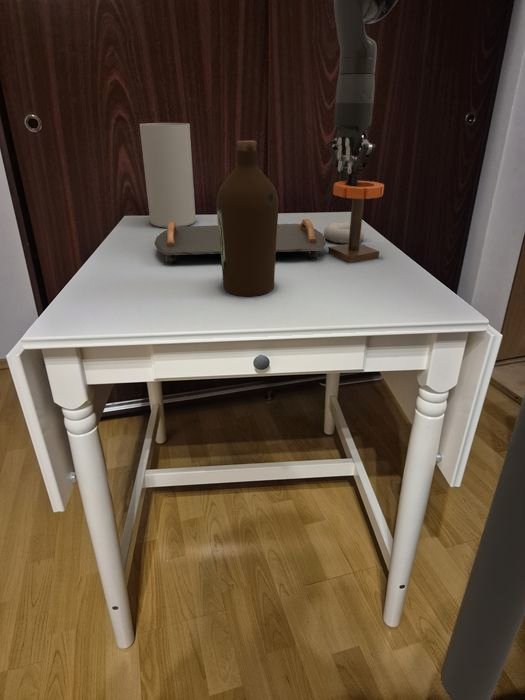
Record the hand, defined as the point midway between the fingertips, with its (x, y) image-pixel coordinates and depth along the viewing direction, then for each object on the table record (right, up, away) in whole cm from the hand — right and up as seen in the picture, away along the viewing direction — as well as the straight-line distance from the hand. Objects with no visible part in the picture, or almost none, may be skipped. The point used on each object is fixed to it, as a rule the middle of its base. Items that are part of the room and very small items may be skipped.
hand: (347, 190), depth 104 cm
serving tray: (-23, -11, +8) cm, 27 cm away
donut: (+2, -7, +15) cm, 17 cm away
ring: (+2, -2, -3) cm, 4 cm away
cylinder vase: (-43, +1, +30) cm, 53 cm away
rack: (+2, -13, +3) cm, 14 cm away
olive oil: (-21, -23, -15) cm, 34 cm away
